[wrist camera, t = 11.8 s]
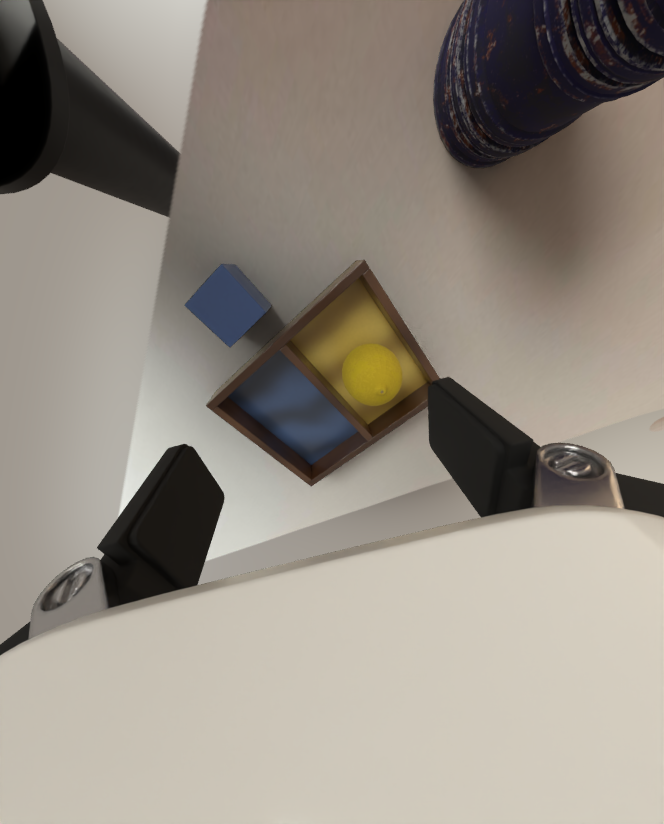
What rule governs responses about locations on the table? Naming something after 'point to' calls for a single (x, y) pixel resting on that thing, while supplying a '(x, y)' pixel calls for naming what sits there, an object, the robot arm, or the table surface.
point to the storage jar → (538, 69)
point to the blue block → (228, 303)
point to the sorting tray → (325, 380)
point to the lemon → (372, 374)
